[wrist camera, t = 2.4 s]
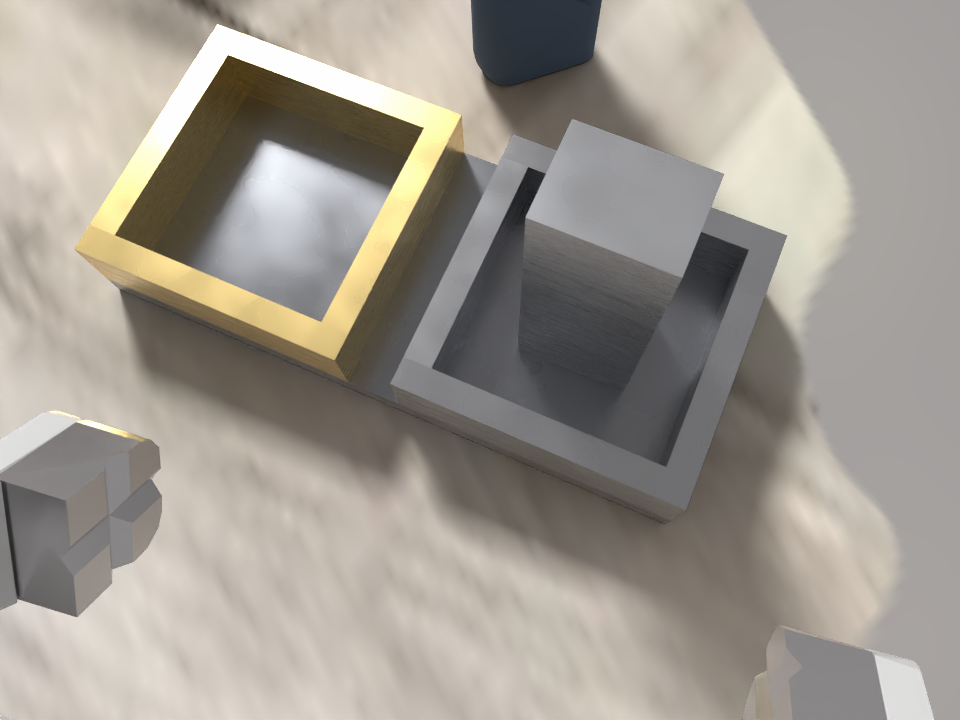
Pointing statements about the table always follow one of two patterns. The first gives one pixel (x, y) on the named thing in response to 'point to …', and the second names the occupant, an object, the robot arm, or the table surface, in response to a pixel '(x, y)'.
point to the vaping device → (532, 36)
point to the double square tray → (410, 269)
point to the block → (607, 250)
